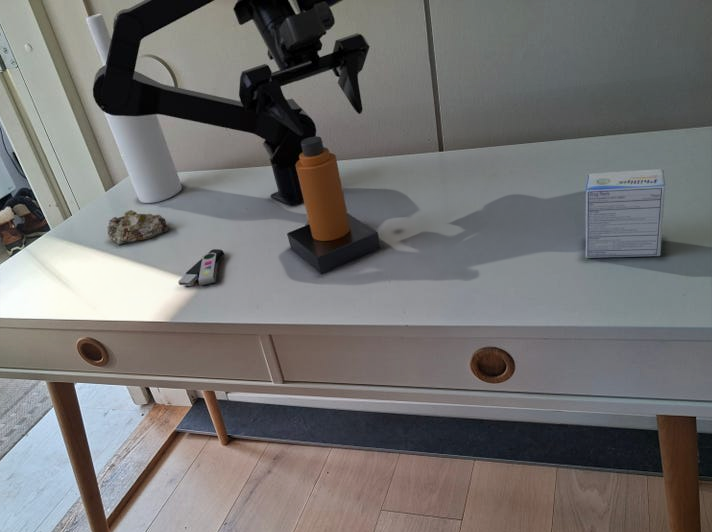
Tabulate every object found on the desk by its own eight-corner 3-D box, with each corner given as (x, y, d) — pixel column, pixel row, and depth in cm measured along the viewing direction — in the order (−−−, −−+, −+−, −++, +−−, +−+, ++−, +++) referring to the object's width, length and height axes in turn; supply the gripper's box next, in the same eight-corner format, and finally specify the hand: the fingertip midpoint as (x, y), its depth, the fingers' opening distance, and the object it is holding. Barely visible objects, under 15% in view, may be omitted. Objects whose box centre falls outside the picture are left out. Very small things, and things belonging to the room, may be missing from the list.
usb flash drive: (212, 254, 102) (210, 248, 101) (242, 256, 99) (240, 249, 99) (178, 286, 96) (176, 279, 95) (209, 288, 93) (207, 281, 93)
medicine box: (659, 238, 81) (665, 167, 76) (660, 258, 78) (666, 185, 73) (587, 240, 84) (587, 172, 79) (585, 259, 81) (585, 189, 76)
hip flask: (381, 249, 93) (378, 231, 92) (321, 275, 91) (317, 257, 89) (341, 222, 102) (337, 206, 101) (286, 245, 100) (281, 229, 98)
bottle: (189, 189, 126) (125, 9, 109) (148, 207, 123) (76, 24, 106) (172, 180, 132) (109, 8, 115) (132, 197, 129) (62, 22, 112)
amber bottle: (305, 239, 94) (282, 148, 87) (324, 222, 97) (304, 132, 90) (338, 242, 91) (318, 148, 84) (357, 224, 95) (339, 132, 87)
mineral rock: (91, 236, 111) (110, 201, 116) (105, 255, 114) (123, 221, 119) (151, 233, 108) (168, 198, 112) (163, 254, 111) (179, 219, 116)
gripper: (221, 6, 88) (276, 109, 86) (350, -33, 93) (405, 64, 91) (219, 64, 99) (268, 157, 97) (335, 26, 104) (384, 114, 102)
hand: (331, 122), depth 96 cm, fingers open, 9 cm apart
